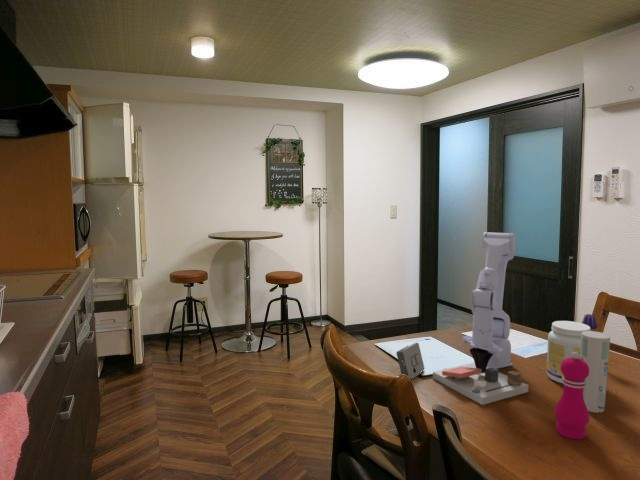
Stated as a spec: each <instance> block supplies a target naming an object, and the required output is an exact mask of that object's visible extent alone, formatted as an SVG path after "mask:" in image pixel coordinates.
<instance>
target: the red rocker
mask: <svg viewBox="0 0 640 480" xmlns="http://www.w3.org/2000/svg"><path fill="white" fill-rule="evenodd" d="M480 373H482V370H481V369H478V368H469V367H458V368H454V369H449V370H445V371H442V375H444V376H451V377H458V378H463V377H468V376H472V375H476V374H480Z"/></svg>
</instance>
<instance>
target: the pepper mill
mask: <svg viewBox="0 0 640 480" xmlns="http://www.w3.org/2000/svg"><path fill="white" fill-rule="evenodd" d="M579 357H580V355H579V353H577V352H573V353H572V354H571V357H569V358H566V359H564V360H563V361H562V363H561V366H560V370H561V372H562V374H563V375H564V376H562V383H561V384H562V385H563V390H562V393H561V397H560V399H559V400H558V402H557V403H556V406H555V409H554V416H555V418H556V419H557V421H556V423H555V424H556V427H555V429H556V432H557V433H558V434H559V435H560V436H563V437H565V438H567V439H571V440H583V439H584V438H586V436H587V429H586V426H587V425H588V424H589V422H590V413H589V411H588V409H587V407H586V405H585V402H584V398H583V389H584V387H586V380H585V378H587V377H588V375H589V367H588V365H587V363H586V362H585V361H583V360H582V359H579Z"/></svg>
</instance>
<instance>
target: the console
mask: <svg viewBox="0 0 640 480" xmlns="http://www.w3.org/2000/svg"><path fill="white" fill-rule="evenodd" d="M458 367H469V368H476V366H475V362H471V363H467V364H462V365H459V366H453V367H449V368H445V369H439V370H436V371H432V379H434V380H435V381H437V382H439V383H441V384H443V385H444V386H446V387H448V388H449V389H452V390H453V391H456V392H458V393H459V394H460V395H463V396H465V397H467V398H469V399H471V400H473V401H474V402H476V403H478V404H480V405H481V406H484V405H488V404H491V403H494V402H497V401H501V400H505V399H508V398H512V397H515V396H519V395H522V394H525V393H529V384H527V383H524V382H522V381H521V385H518V386H513V385H511V384H509V383H507V376H508V375H507V374H504V373H502V372H500V371H498V381H495V382H492V383H491V382H489V381H487V380H485V373H481V374H476V375H472V376H468V377H463V378H458V377H451V376H444V375H442V371H445V370H449V369H454V368H458ZM486 369H488V367H486Z"/></svg>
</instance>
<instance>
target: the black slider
mask: <svg viewBox="0 0 640 480" xmlns="http://www.w3.org/2000/svg"><path fill="white" fill-rule="evenodd" d="M498 372H499V369H494V368H488V369H485V380H487V381H489V382H491V383H492V382H495V381H498Z"/></svg>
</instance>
